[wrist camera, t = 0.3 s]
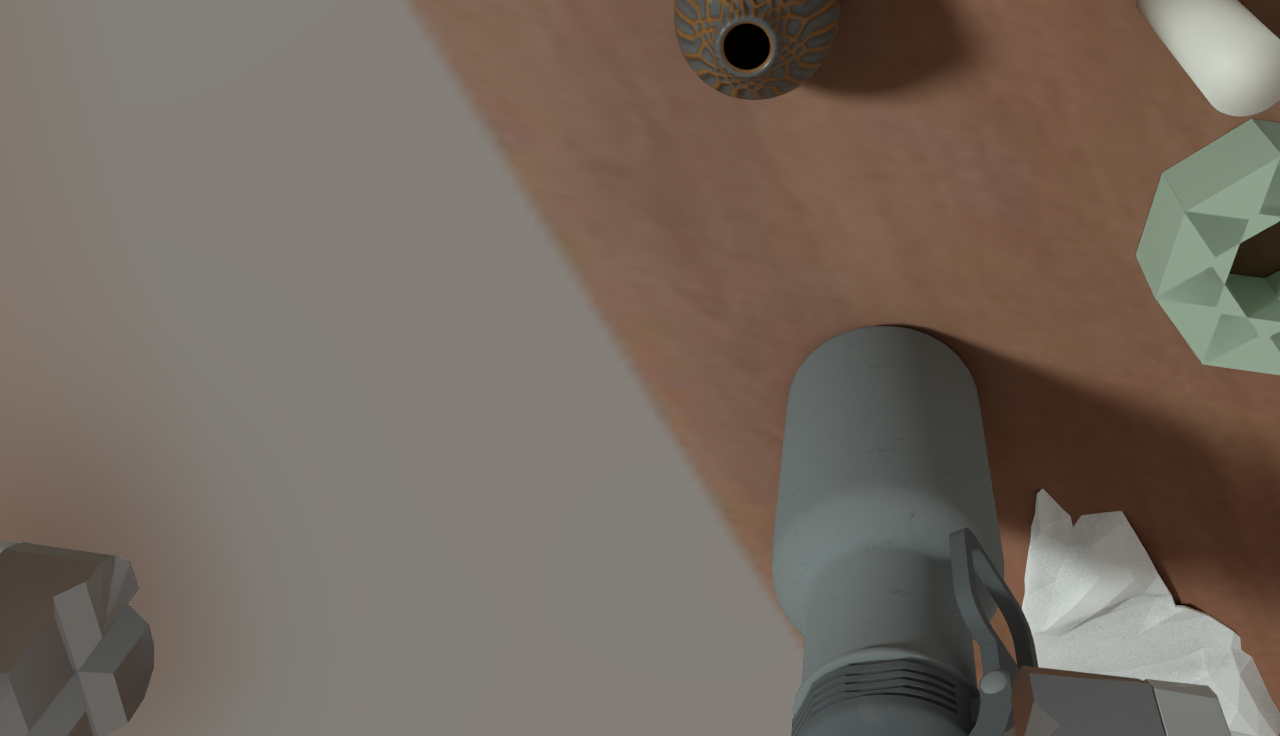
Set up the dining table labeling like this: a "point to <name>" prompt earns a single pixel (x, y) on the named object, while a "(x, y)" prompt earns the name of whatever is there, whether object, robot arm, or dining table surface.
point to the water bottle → (893, 544)
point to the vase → (756, 42)
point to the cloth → (1129, 617)
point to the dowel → (1220, 51)
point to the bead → (1218, 248)
